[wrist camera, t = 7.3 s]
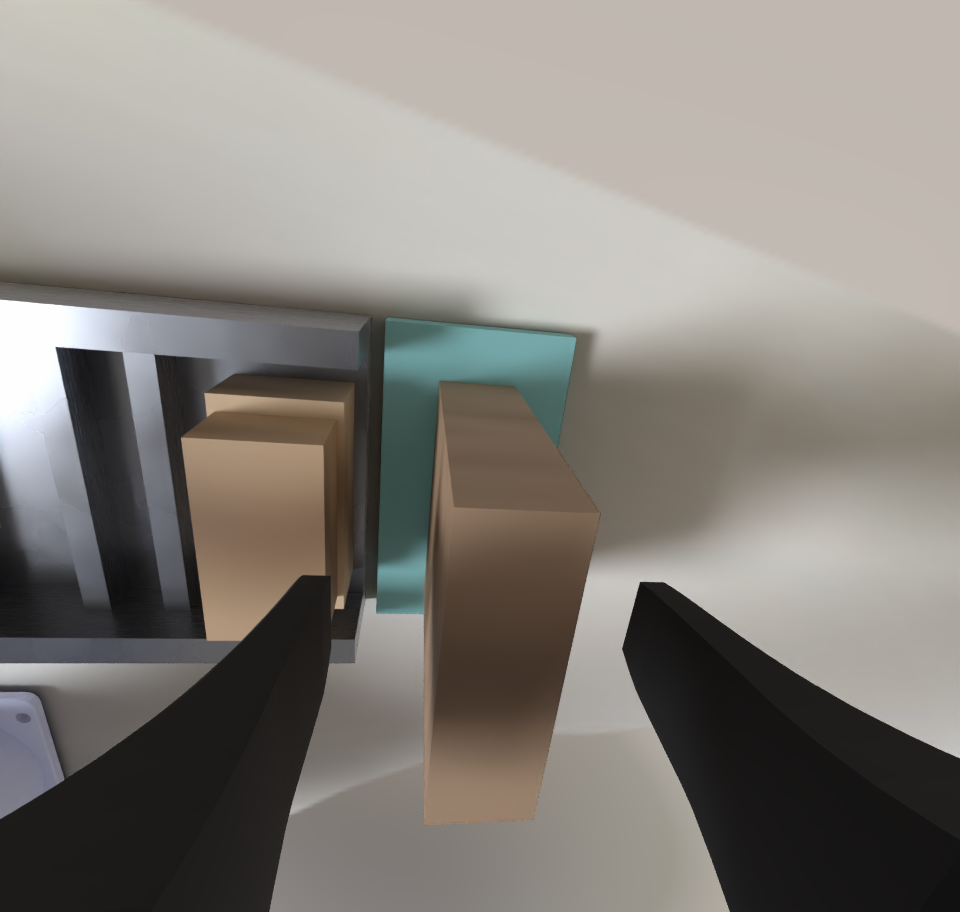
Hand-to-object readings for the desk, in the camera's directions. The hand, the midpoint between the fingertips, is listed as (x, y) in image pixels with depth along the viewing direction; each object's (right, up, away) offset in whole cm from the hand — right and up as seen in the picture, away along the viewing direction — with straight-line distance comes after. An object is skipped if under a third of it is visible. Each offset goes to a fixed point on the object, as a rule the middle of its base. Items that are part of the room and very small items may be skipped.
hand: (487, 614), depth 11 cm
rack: (-11, +3, +5) cm, 13 cm away
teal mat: (-1, +3, +7) cm, 7 cm away
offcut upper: (-6, +2, +3) cm, 7 cm away
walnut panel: (-1, +2, +6) cm, 7 cm away
